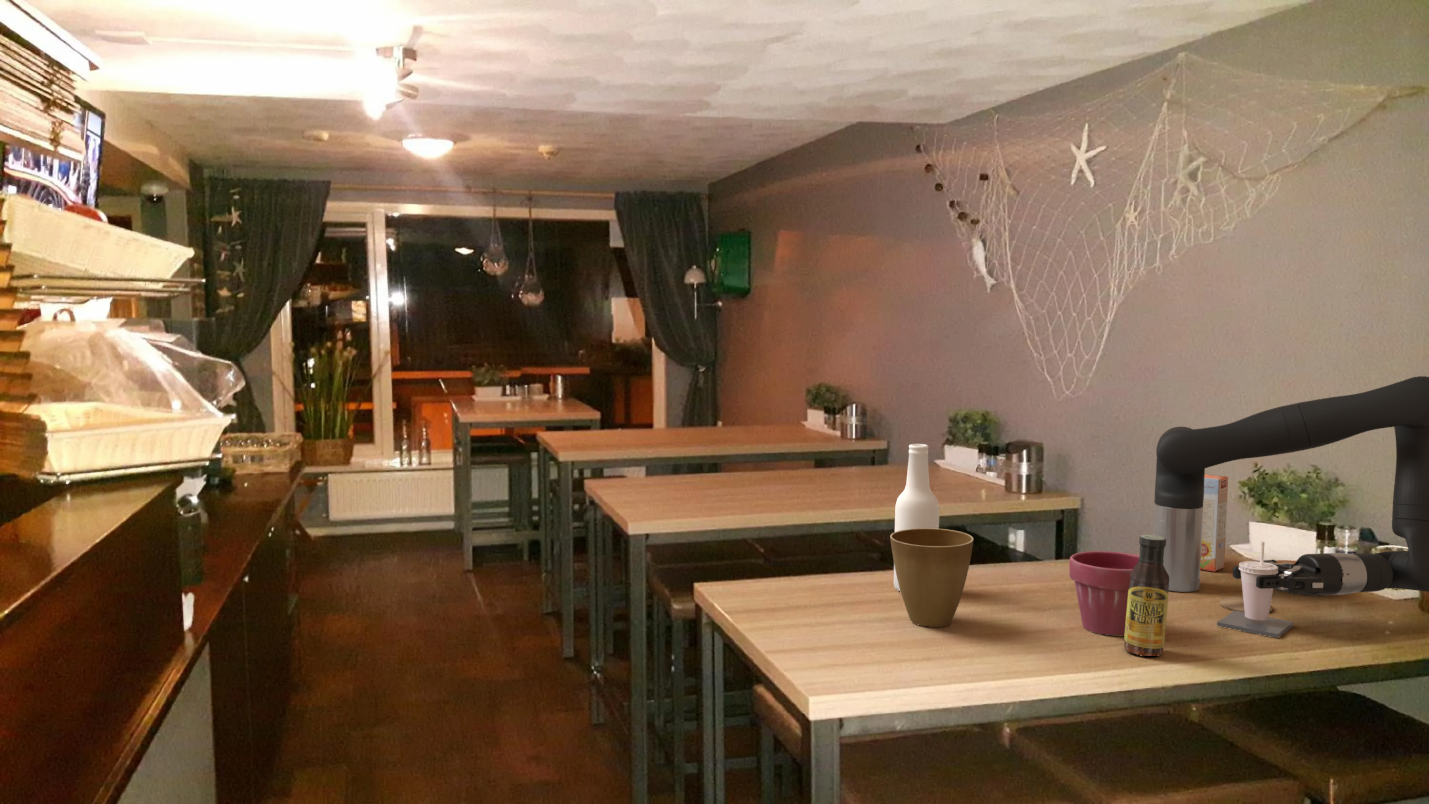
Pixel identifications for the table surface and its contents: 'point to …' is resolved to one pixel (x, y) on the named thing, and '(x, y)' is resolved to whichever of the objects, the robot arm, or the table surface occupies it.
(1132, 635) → the sauce bottle
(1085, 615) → the plant pot
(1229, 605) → the cork trivet
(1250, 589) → the smoothie
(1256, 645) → the table surface
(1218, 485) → the cracker box
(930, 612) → the plant pot
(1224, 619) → the slate coaster
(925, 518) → the alcohol
